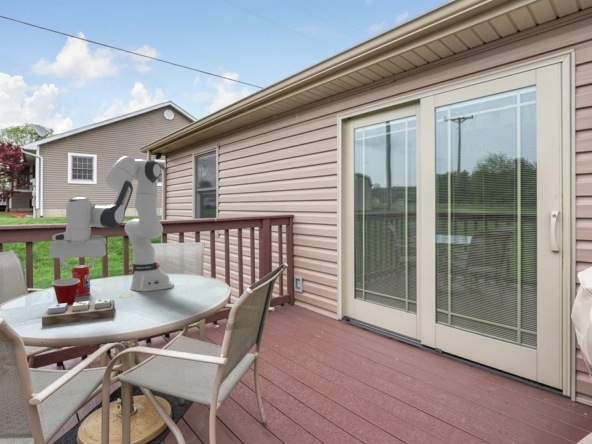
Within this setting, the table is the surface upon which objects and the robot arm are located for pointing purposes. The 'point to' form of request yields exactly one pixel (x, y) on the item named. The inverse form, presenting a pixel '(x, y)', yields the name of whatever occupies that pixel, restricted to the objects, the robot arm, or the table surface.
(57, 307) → the tile one dot
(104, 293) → the table surface
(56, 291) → the plastic cup
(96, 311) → the keypad board
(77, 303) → the tile three dots
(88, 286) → the soda can
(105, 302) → the tile two dots
